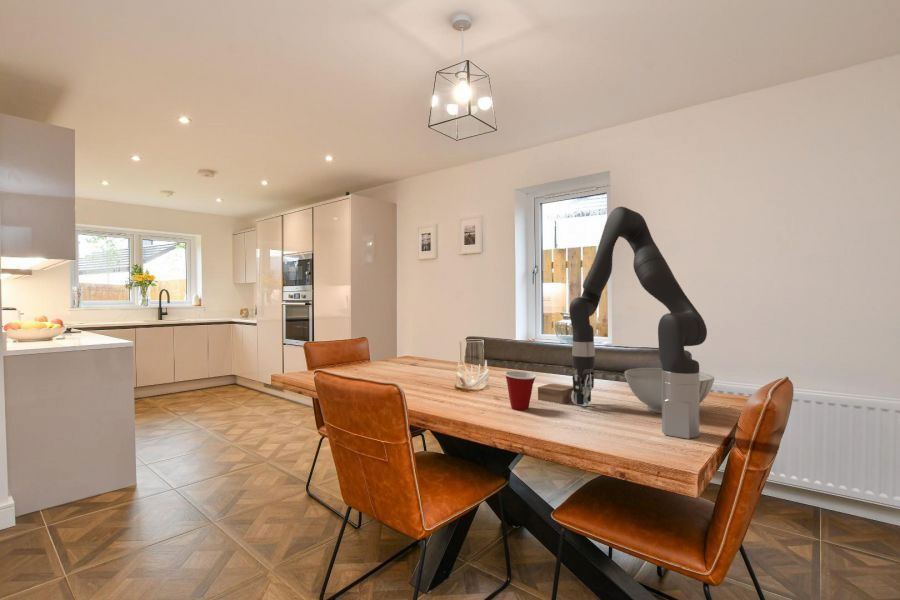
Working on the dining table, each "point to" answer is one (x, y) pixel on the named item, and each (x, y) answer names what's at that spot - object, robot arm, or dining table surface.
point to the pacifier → (586, 395)
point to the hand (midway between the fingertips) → (584, 402)
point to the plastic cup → (519, 388)
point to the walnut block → (555, 393)
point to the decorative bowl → (659, 386)
